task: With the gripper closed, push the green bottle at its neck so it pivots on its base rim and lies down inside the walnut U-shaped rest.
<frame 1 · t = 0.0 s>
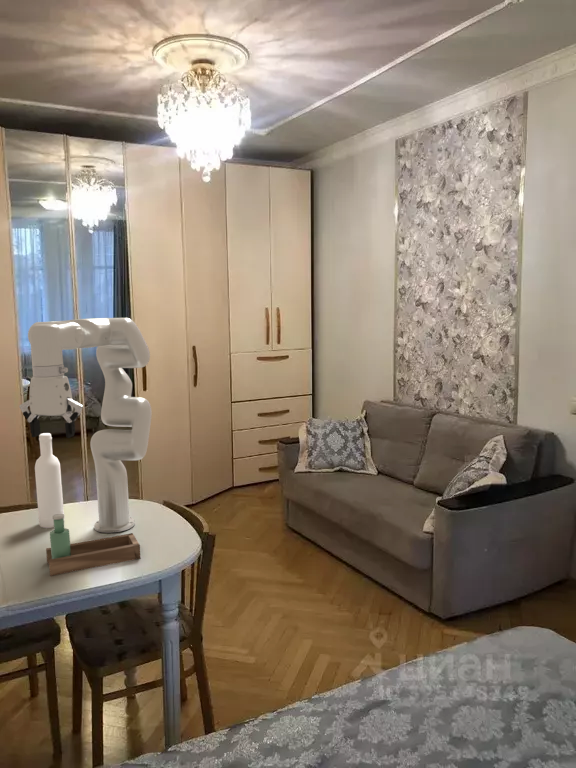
hand: (53, 436, 167), 37 cm above the table, tool pointing down, fingers open, 9 cm apart
bottle: (62, 566, 175), on the table
bottle 2: (52, 524, 207), on the table
u rest: (91, 560, 178), on the table
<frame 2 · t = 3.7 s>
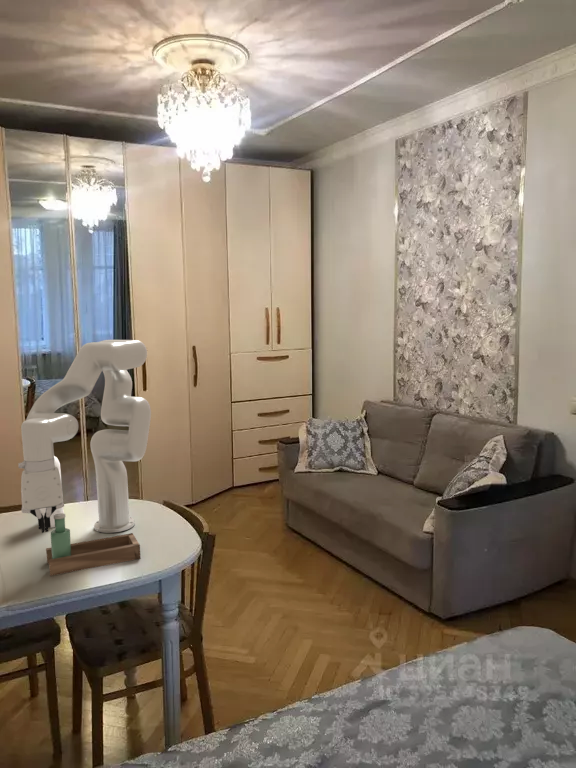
hand: (44, 530, 171), 11 cm above the table, tool pointing down, fingers closed
bottle: (62, 566, 175), on the table, touching gripper
everything else where it was.
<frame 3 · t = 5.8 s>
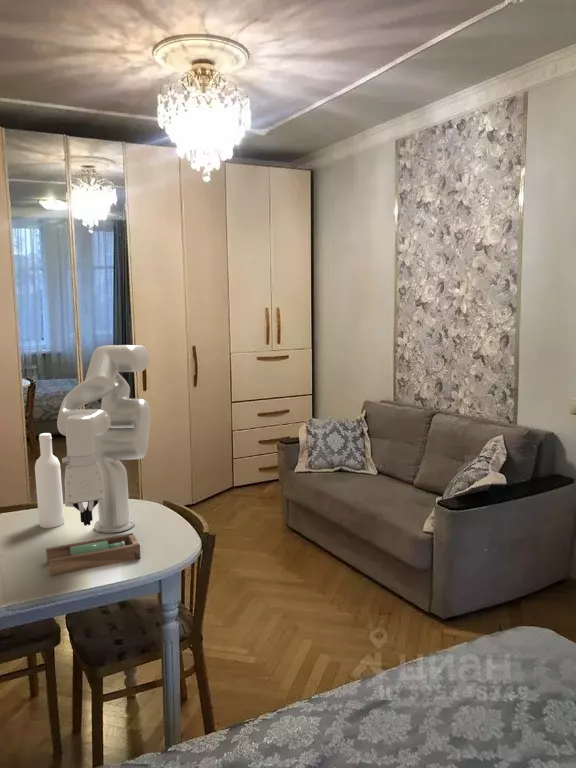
hand: (86, 523, 176), 11 cm above the table, tool pointing down, fingers closed
bottle: (71, 556, 176), point 2 cm above the table, tilted 90°
everything else where it was.
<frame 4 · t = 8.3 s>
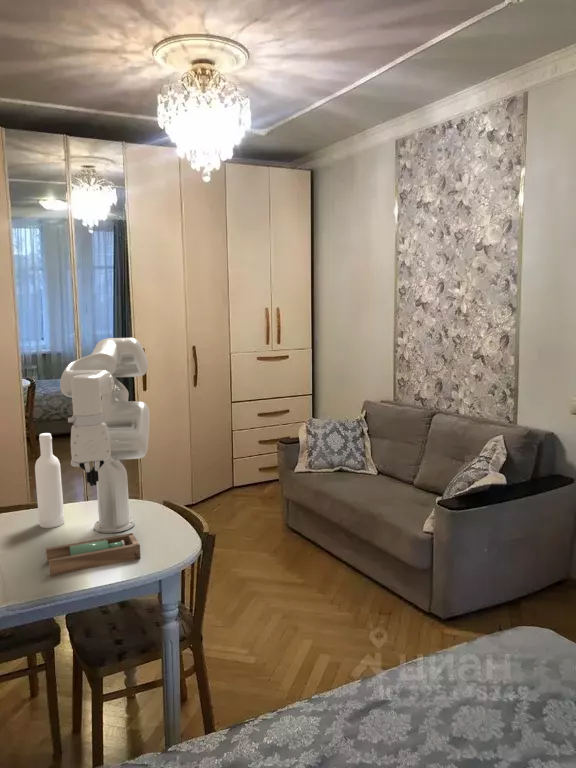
hand: (92, 484, 176), 22 cm above the table, tool pointing down, fingers closed
nothing on the table moved.
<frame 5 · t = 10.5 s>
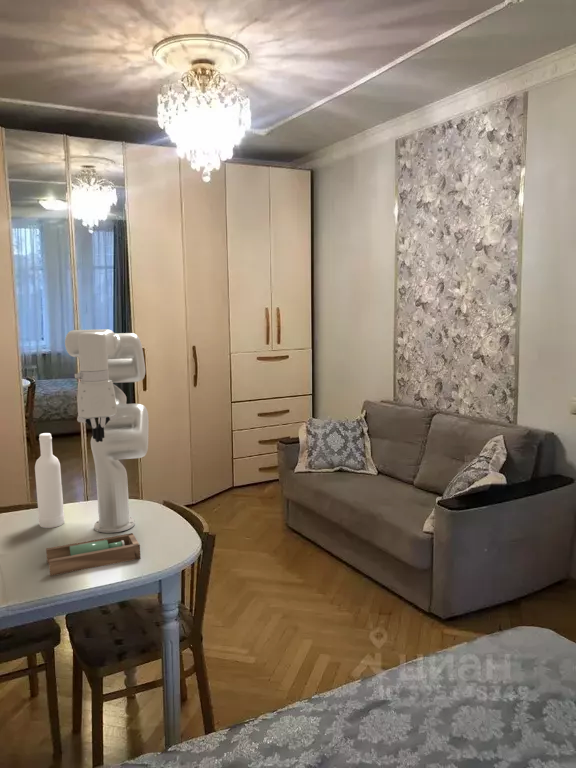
hand: (98, 440, 179), 33 cm above the table, tool pointing down, fingers closed
nothing on the table moved.
at the end: bottle tilted 90°; bottle inside the target area on the u rest (3.9 cm from its centre), point 2.4 cm above the u rest's base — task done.
